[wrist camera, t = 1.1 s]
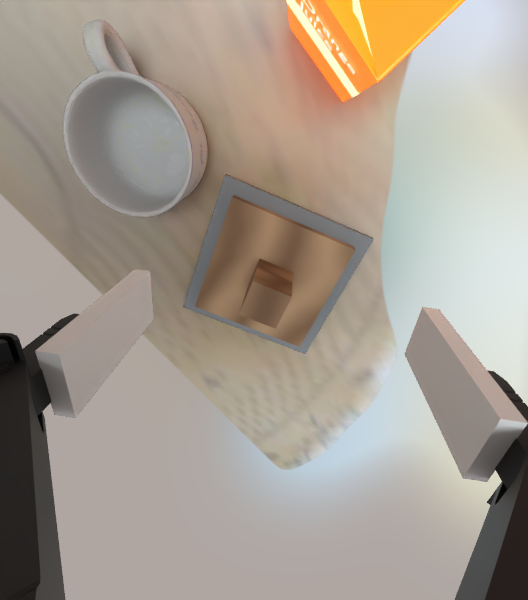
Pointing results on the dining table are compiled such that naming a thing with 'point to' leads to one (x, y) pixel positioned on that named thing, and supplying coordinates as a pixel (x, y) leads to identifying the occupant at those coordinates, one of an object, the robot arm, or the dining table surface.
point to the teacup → (131, 133)
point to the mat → (287, 210)
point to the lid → (271, 272)
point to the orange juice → (363, 36)
